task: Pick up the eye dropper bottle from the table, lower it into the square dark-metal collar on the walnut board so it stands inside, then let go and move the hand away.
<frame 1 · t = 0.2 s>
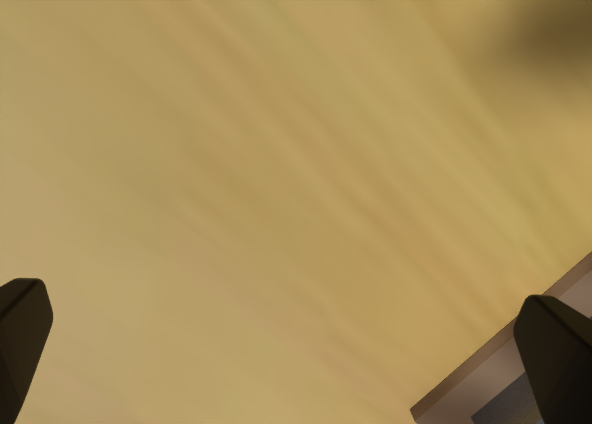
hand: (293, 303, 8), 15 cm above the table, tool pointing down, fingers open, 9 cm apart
socket board: (571, 388, 28), on the table
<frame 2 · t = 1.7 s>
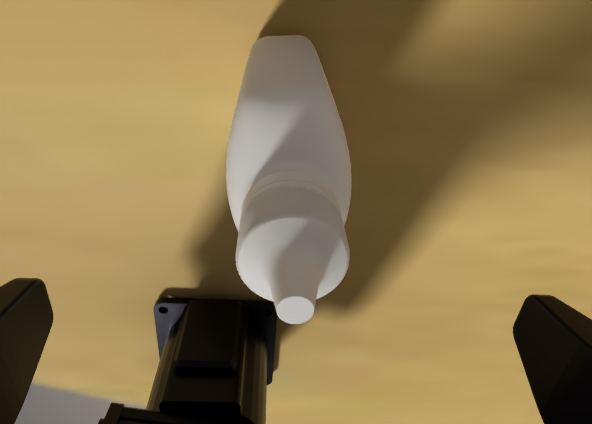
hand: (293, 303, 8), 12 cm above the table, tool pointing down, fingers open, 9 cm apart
eye dropper bottle: (285, 103, 18), on the table
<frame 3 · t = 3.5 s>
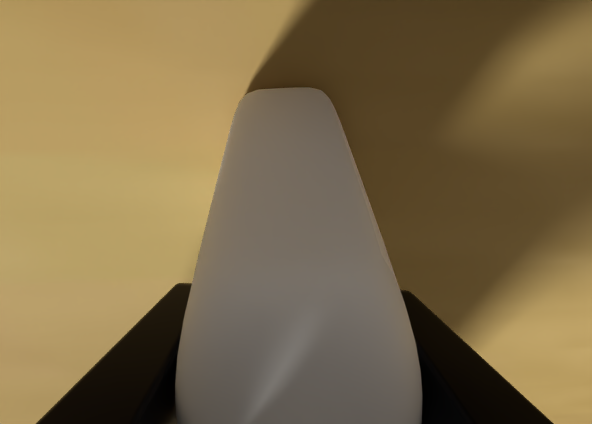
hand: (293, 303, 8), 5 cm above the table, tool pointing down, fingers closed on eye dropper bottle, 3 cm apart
eye dropper bottle: (288, 177, 13), on the table, touching gripper
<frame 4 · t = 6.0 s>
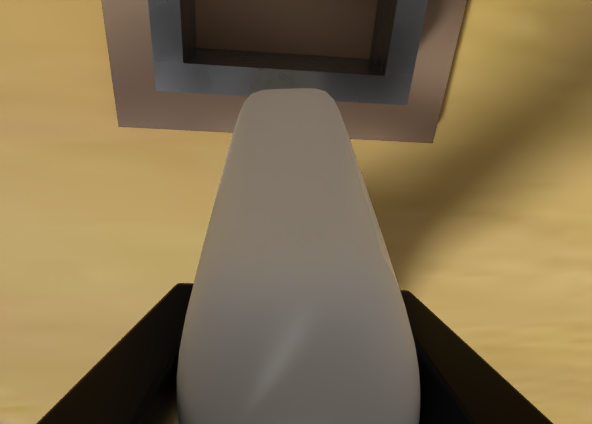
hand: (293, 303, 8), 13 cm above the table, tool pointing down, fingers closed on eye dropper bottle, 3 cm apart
eye dropper bottle: (291, 177, 13), point 8 cm above the table, touching gripper
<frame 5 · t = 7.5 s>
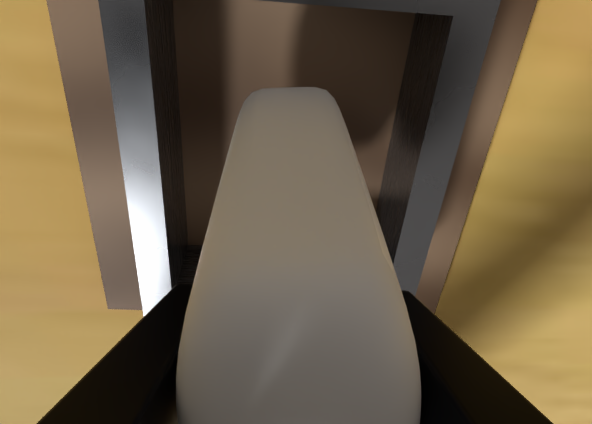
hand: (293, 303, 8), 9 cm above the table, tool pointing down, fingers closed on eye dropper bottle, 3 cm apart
socket board: (286, 129, 16), on the table
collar: (287, 158, 13), on the socket board, point 2 cm above the table
eye dropper bottle: (291, 177, 13), point 3 cm above the table, touching gripper
when the fingers open (7 cm above the table, at t = 8.5 s): eye dropper bottle drops 1 cm, resting on socket board.
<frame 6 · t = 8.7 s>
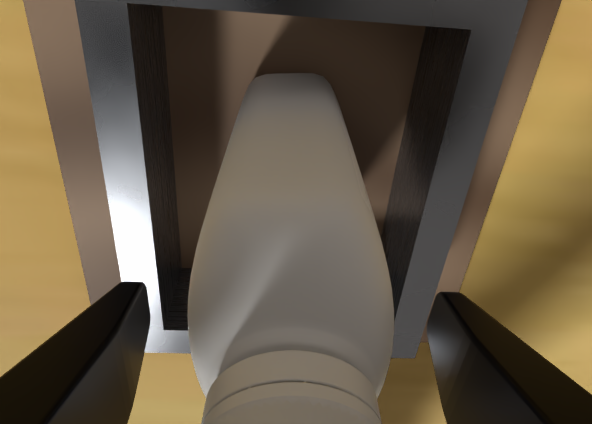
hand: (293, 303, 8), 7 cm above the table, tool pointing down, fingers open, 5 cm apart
socket board: (286, 146, 15), on the table
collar: (287, 180, 12), on the socket board, point 2 cm above the table
eye dropper bottle: (291, 158, 14), point 1 cm above the table, touching socket board
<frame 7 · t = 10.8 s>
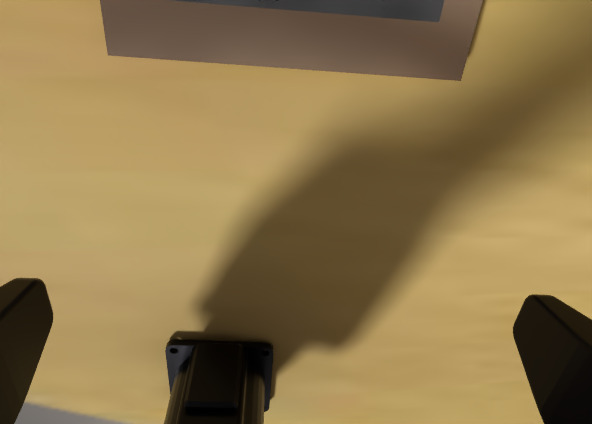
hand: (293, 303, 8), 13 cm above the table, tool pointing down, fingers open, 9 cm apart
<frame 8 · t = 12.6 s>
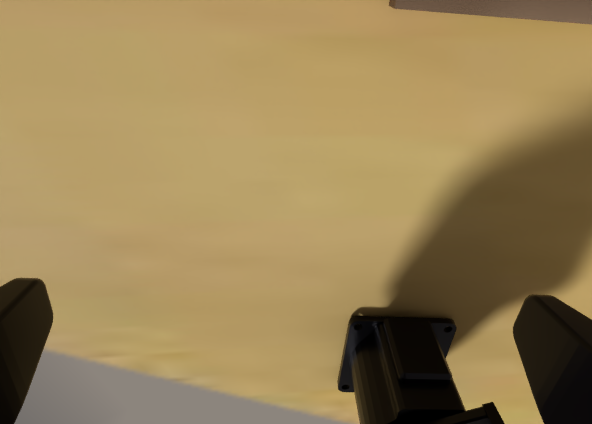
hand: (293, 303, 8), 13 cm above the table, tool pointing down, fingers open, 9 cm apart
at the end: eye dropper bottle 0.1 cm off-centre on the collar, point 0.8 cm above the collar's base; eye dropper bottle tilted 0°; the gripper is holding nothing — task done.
